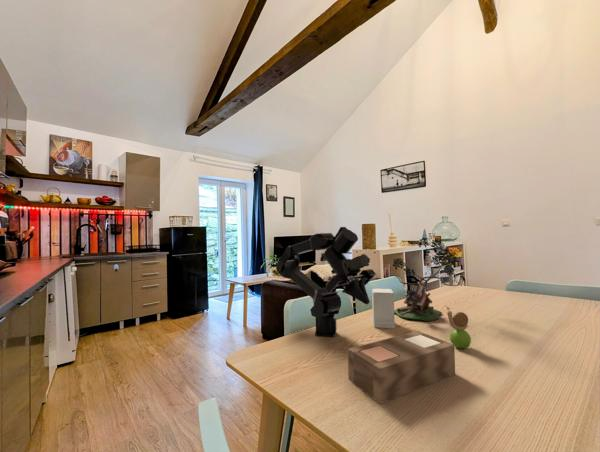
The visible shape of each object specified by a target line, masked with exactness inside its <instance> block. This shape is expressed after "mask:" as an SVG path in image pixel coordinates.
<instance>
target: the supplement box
mask: <svg viewBox="0 0 600 452" xmlns="http://www.w3.org/2000/svg"><path fill="white" fill-rule="evenodd" d="M394 293H395V292H394V291H393V290H392V288H371V301H372V303H371V305H372V306H371V307H372V324H373V328H378V329H379V328H381V329H382V328H384V329H395V320H396V319H395V313H394V310H395V294H394Z"/></svg>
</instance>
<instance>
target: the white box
mask: <svg viewBox="0 0 600 452" xmlns="http://www.w3.org/2000/svg"><path fill="white" fill-rule="evenodd" d="M404 340H406V341H408V342H410V343H413V344H415V345H417V346H419V347H422V348H424V349H425V348H428V347H431V346H435V345H438V344H441V343H440V342H437V341H435V340H432V339H430V338H427V337H425V336H422V335H418V336H414V337H410V338H407V339H404Z"/></svg>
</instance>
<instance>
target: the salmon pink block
mask: <svg viewBox="0 0 600 452" xmlns="http://www.w3.org/2000/svg"><path fill="white" fill-rule="evenodd" d="M360 352H361V353H363V354H364V355H366V356H368V357H370V358H371V359H373V360H375V361H376V362H378V363H379V362H383V361H386V360H389V359H392V358H396V357H399V355H397V354H395V353H393V352H391V351H389V350H387V349H385V348H383V347H381V346H377V347H374V348H370V349H366V350H362V351H360Z"/></svg>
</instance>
